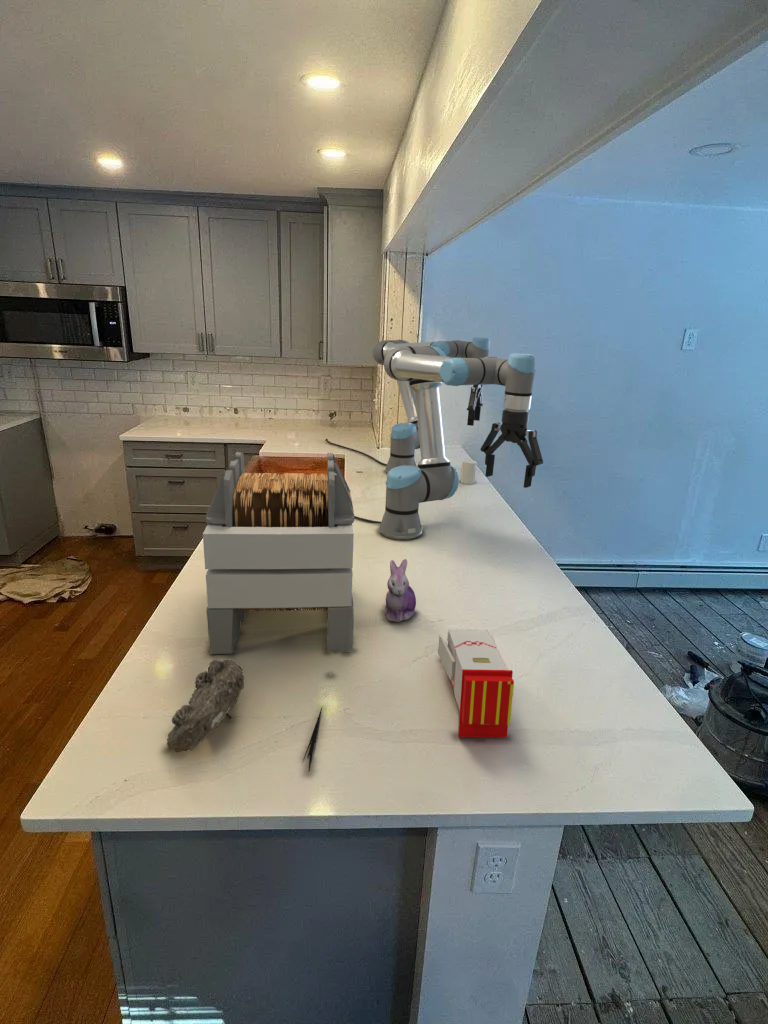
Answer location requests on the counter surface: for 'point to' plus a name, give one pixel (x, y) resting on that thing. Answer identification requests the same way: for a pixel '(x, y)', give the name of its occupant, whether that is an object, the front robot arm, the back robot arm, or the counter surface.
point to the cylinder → (468, 471)
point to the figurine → (399, 594)
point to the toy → (478, 682)
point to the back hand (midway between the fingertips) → (473, 422)
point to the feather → (313, 740)
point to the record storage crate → (279, 550)
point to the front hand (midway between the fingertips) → (507, 481)
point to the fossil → (206, 705)
